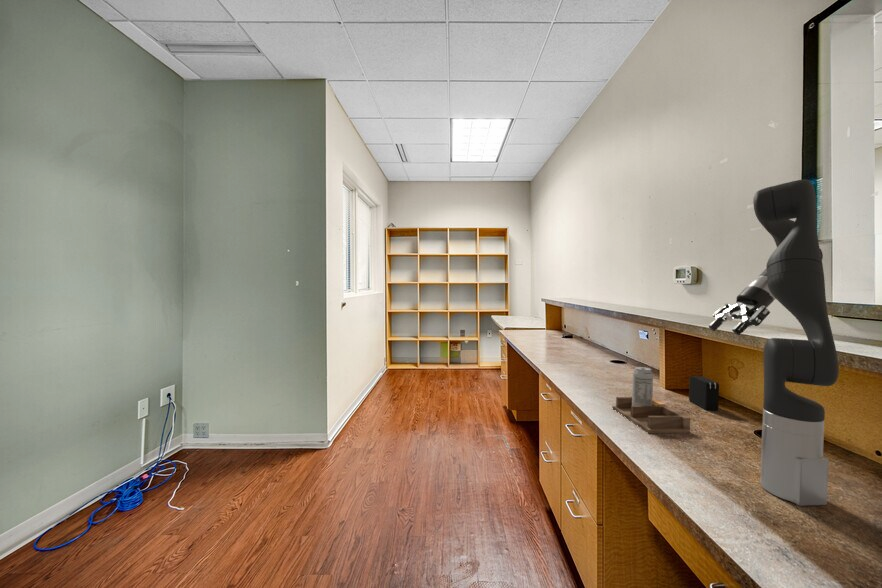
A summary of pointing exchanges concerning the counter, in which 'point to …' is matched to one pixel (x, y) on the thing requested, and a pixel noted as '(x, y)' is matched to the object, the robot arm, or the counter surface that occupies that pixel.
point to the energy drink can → (642, 387)
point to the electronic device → (704, 392)
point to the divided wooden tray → (653, 416)
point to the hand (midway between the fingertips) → (722, 330)
